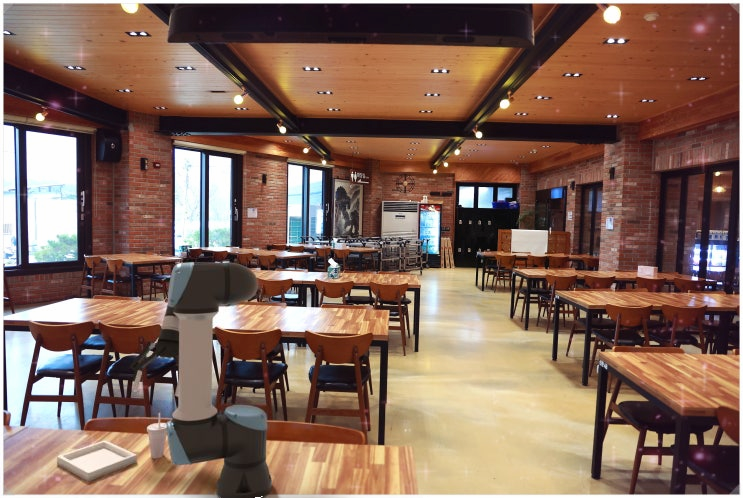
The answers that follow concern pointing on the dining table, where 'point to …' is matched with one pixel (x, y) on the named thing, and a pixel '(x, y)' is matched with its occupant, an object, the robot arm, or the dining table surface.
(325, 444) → the dining table surface
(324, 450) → the dining table surface
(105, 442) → the tray
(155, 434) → the smoothie
